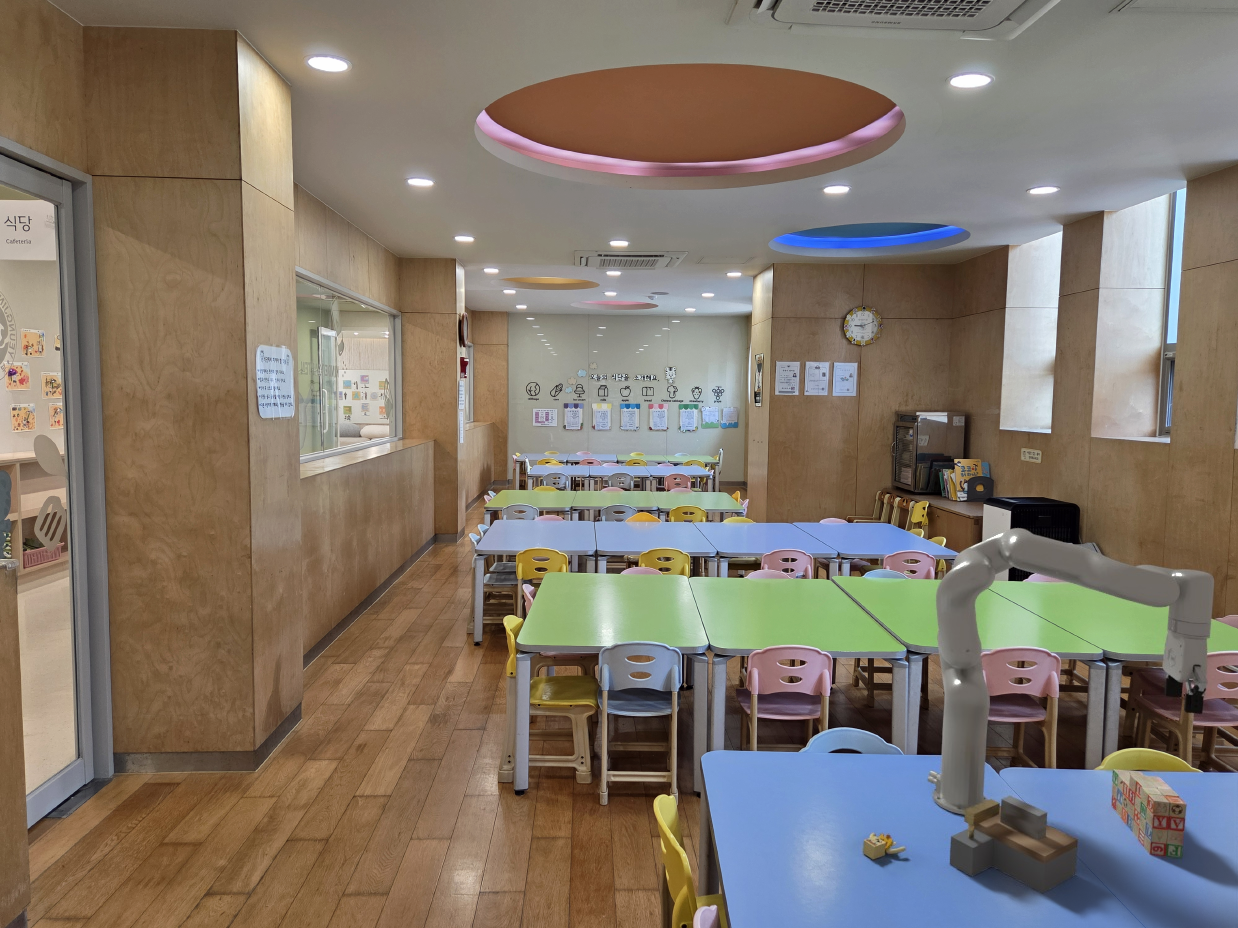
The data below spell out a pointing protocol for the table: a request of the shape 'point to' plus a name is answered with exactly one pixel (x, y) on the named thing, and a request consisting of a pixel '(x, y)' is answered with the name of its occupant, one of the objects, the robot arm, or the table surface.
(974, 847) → the grey l-shaped block
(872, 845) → the character toy
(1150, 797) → the stack of blocks
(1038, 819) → the walnut lid
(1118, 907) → the table surface
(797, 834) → the table surface
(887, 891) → the table surface
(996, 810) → the brass bar
